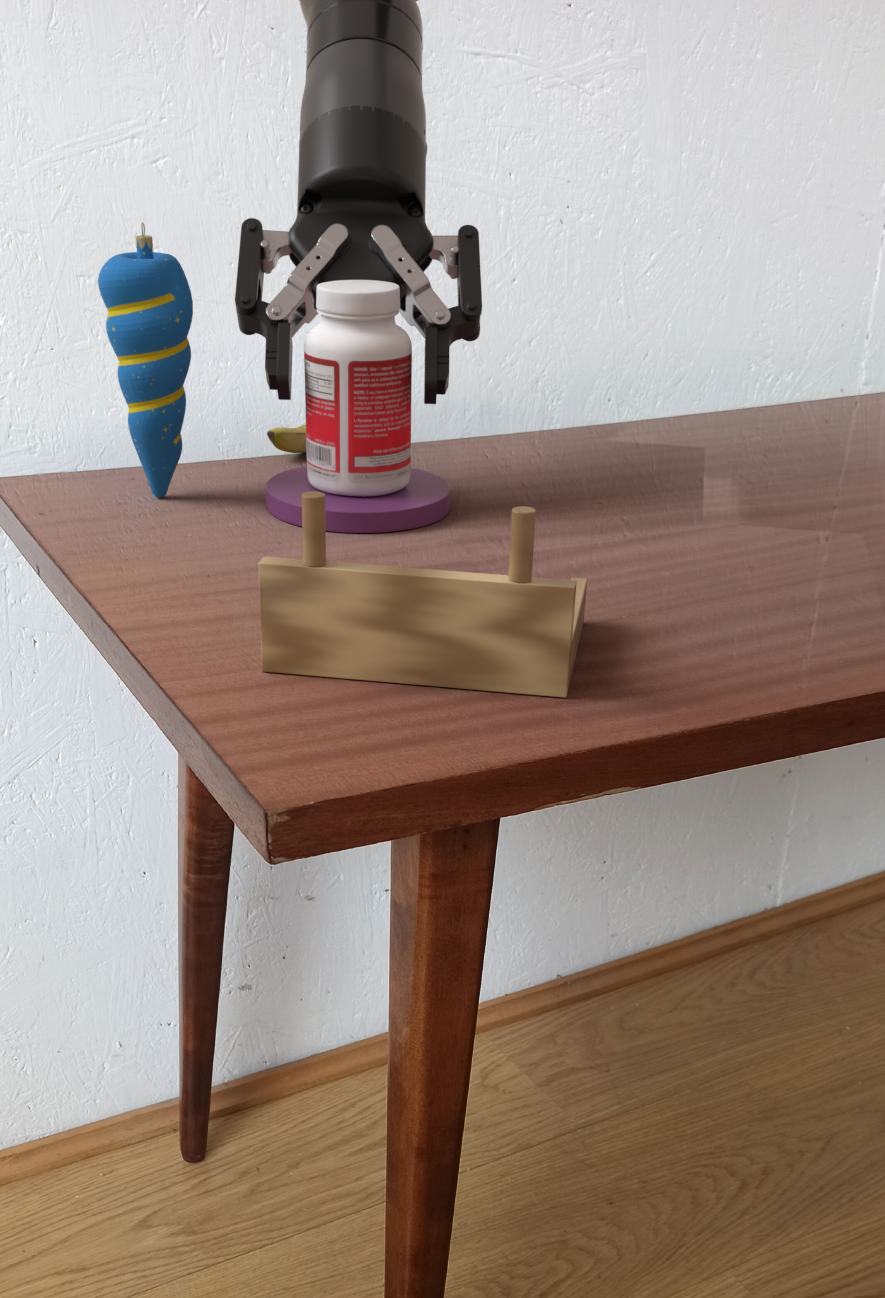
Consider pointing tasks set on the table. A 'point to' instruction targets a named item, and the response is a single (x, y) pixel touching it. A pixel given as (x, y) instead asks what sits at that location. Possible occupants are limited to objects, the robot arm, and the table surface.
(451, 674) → the rack
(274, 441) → the banana
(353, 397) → the pill bottle
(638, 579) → the table surface
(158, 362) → the ornament
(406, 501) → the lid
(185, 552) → the table surface
